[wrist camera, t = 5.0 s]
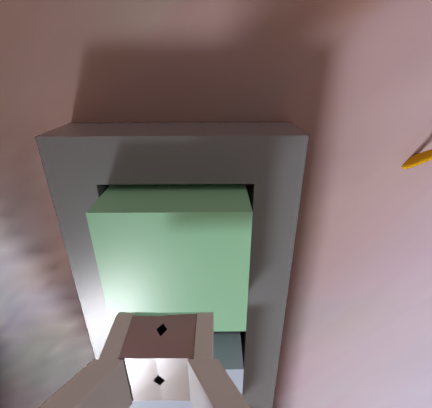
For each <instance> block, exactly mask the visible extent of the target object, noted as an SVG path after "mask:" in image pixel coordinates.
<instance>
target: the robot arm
mask: <svg viewBox="0 0 432 408" xmlns="http://www.w3.org/2000/svg"><path fill="white" fill-rule="evenodd" d="M154 400H169V401H191V405H192V407H193V408H250V407H249V405H248V404H247V402H246V401H245V399H244V398H243V396H242V395H241V393H240V392H239V390H238V389H237V387H236V386H235V384H234V383H233V381H232V380H231V378H230V377H229V375H228V374H227V372H226V371H225V369H224V368H223V366H222V365H221V363H220V362H219V360H218V359H214V314H213V312H198V313H197V312H167V313H151V312H119V313H118V314H117V316H116V317H115V320H114V322H113V325H112V327H111V329H110V332H109V334H108V337H107V339H106V342H105V344H104V347H103V349H102V352H101V354H100V357H99V359H93V360H92V361H91V362H90V363H89V364H88V365H87V366H85V367H84V368H83V369H82V370H81V371H80V372H79V373H77V374H76V375H75V376H74V377H73V378H72V379H71V380H70V381H68V382H67V383H66V384H65V385H64V386H63V387H62V388H60V389H59V390H58V391H57V392H56V393H55V394H54V395H52V396H51V397H50V398H49V399H48V400H47V401H46V402H45V403H43V404H42V405H41V406H40V407H39V408H129V407H130V406H131V405H132V401H154Z"/></svg>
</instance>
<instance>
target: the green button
mask: <svg viewBox="0 0 432 408" xmlns="http://www.w3.org/2000/svg"><path fill="white" fill-rule="evenodd" d="M252 216H253V211H252V207H251V204H250V200H249V196H248V192H247V188H246V185H245V184H131V185H110V186H109V187H108V188H107V189H106V190H105V192H104V193H103V194H102V195H101V196H100V197H99V198H98V199H97V201H96V202H95V203H94V204H93V205H92V206H91V207H90V208H89V210H88V211H87V212H86V217H87V222H88V226H89V231H90V235H91V240H92V244H93V249H94V253H95V258H96V262H97V267H98V271H99V276H100V280H101V285H102V289H103V294H104V298H105V303H106V307H107V312H108V316H109V321H110V325H111V327H112V325H113V322H114V320H115V317H116V316H117V314H118V313H119V312H151V313H167V312H197V313H198V312H213V314H214V332H217V331H246V321H247V304H248V286H249V269H250V251H251V234H252Z"/></svg>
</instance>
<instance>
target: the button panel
mask: <svg viewBox="0 0 432 408" xmlns="http://www.w3.org/2000/svg"><path fill="white" fill-rule="evenodd" d="M35 138H36V142H37V145H38V149H39V153H40V156H41V160H42V164H43V167H44V171H45V175H46V178H47V182H48V186H49V189H50V193H51V197H52V200H53V204H54V208H55V211H56V215H57V219H58V222H59V226H60V230H61V234H62V237H63V241H64V245H65V248H66V252H67V256H68V259H69V263H70V267H71V270H72V274H73V278H74V281H75V285H76V289H77V292H78V296H79V300H80V303H81V307H82V311H83V314H84V318H85V322H86V326H87V329H88V333H89V337H90V340H91V344H92V348H93V351H94V355H95V359H99V357H100V354H101V352H102V349H103V347H104V344H105V342H106V339H107V337H108V334H109V332H110V329H111V325H110V321H109V316H108V312H107V307H106V303H105V298H104V294H103V289H102V285H101V280H100V276H99V271H98V267H97V262H96V258H95V253H94V249H93V244H92V240H91V235H90V231H89V226H88V222H87V217H86V212H87V211H88V210H89V208H90V207H91V206H92V205H93V204H94V203H95V202H96V201H97V199H98V198H99V197H100V196H101V195H102V194H103V193H104V192H105V190H106V189H107V188H108V187H109V186H110V185H131V184H246V188H247V192H248V196H249V200H250V204H251V207H252V211H253V216H252V234H251V251H250V269H249V286H248V304H247V321H246V331H240V336H241V346H242V356H243V367H244V374H243V391H242V396H243V398H244V399H245V401H246V402H247V404H248V405H249V407H250V408H272V407H273V400H274V392H275V385H276V377H277V370H278V363H279V355H280V348H281V340H282V333H283V325H284V318H285V310H286V303H287V295H288V288H289V280H290V273H291V265H292V258H293V250H294V243H295V235H296V228H297V220H298V213H299V205H300V198H301V191H302V183H303V176H304V168H305V161H306V153H307V146H308V138H309V135H308V134H306V133H305V132H303V131H302V130H301V129H299V128H298V127H296V126H295V125H294V124H292V123H291V122H224V123H70V124H67V125H64V126H62V127H59V128H57V129H54V130H51V131H49V132H46V133H44V134H41V135H38V136H36V137H35Z"/></svg>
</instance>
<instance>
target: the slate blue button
mask: <svg viewBox="0 0 432 408" xmlns="http://www.w3.org/2000/svg"><path fill="white" fill-rule="evenodd" d="M214 359H218V360H219V362H220V363H221V365H222V366H223V368H224V369H225V371H226V372H227V374H228V375H229V377H230V378H231V380H232V381H233V383H234V384H235V386H236V387H237V389H238V390H239V392H240V393H241V395H242V391H243V374H244V367H243V356H242V346H241V336H240V331H217V332H214ZM129 408H193V407H192V405H191V401H169V400H154V401H132V405H131V406H130V407H129Z"/></svg>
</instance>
